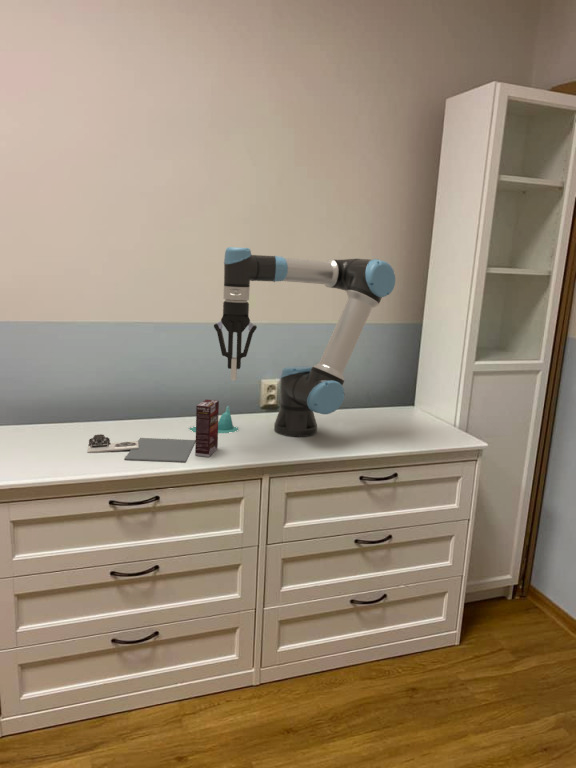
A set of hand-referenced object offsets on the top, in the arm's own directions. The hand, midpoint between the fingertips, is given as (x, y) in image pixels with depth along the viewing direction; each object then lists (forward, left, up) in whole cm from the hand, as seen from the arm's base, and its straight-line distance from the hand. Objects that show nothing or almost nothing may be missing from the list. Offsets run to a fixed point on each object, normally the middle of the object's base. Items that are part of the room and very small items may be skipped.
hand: (233, 379), depth 183 cm
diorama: (+9, -25, -24) cm, 36 cm away
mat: (+22, 0, -24) cm, 32 cm away
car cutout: (+37, 0, -24) cm, 44 cm away
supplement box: (+8, 0, -24) cm, 25 cm away
